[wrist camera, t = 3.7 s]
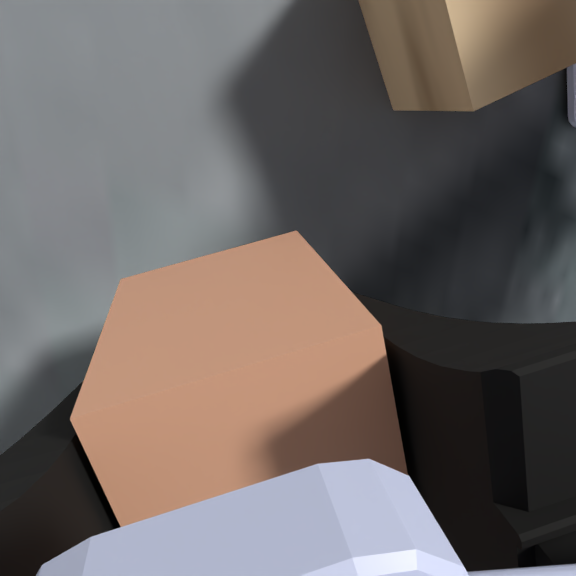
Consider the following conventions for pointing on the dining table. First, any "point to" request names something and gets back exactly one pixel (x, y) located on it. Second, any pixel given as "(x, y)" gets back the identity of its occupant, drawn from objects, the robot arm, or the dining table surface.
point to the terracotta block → (233, 379)
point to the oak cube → (467, 48)
